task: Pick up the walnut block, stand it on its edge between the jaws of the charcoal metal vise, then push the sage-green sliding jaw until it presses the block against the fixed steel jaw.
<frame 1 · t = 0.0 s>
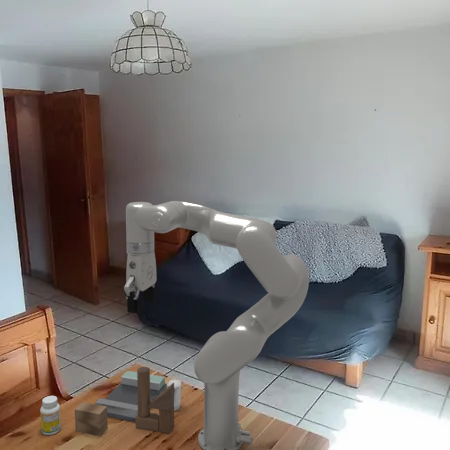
hand: (141, 306, 129), 37 cm above the table, tool pointing down, fingers open, 9 cm apart
sliding jaw: (143, 380, 156), point 3 cm above the table, slide at 0.0 cm
walnut block: (91, 430, 133), on the table
milkshake: (175, 408, 145), on the table
vise base: (123, 410, 143), on the table
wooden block: (155, 428, 135), on the table
supplement bottle: (51, 430, 133), on the table
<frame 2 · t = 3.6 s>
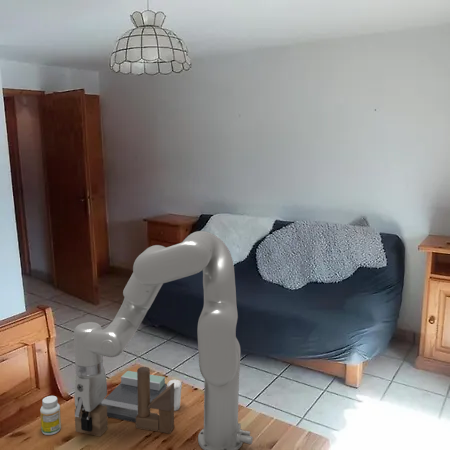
hand: (91, 424, 133), 2 cm above the table, tool pointing down, fingers closed on walnut block, 4 cm apart
walnut block: (91, 429, 133), on the table, touching gripper
everything else where it was.
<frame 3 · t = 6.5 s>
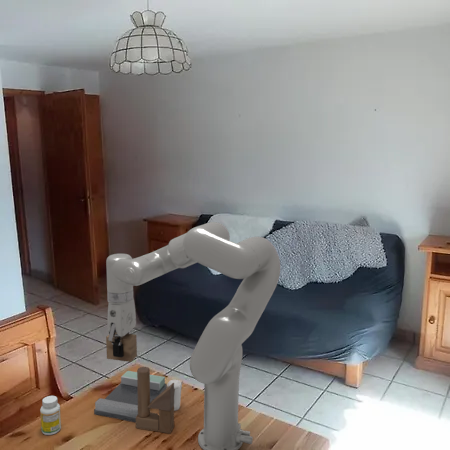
hand: (122, 352, 140), 19 cm above the table, tool pointing down, fingers closed on walnut block, 4 cm apart
walnut block: (122, 357, 140), point 17 cm above the table, touching gripper
everything else where it was.
when the fingers open (5 cm above the table, at t = 9.7 s): walnut block drops 2 cm, resting on vise base.
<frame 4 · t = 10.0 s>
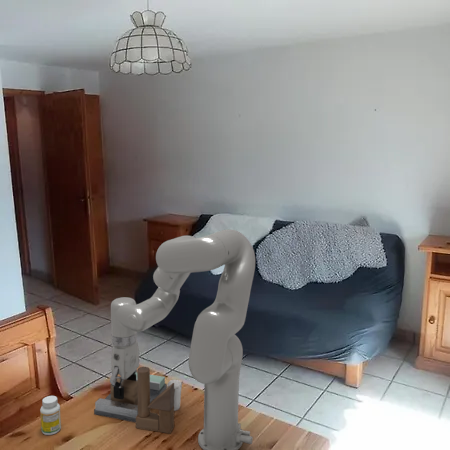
hand: (125, 391, 144), 6 cm above the table, tool pointing down, fingers open, 7 cm apart
walnut block: (125, 403, 144), point 1 cm above the table, touching vise base
everything else where it was.
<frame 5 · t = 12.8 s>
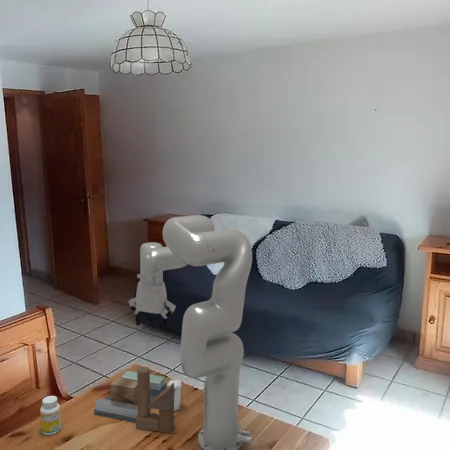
hand: (151, 326, 160), 19 cm above the table, tool pointing down, fingers open, 9 cm apart
nothing on the table moved.
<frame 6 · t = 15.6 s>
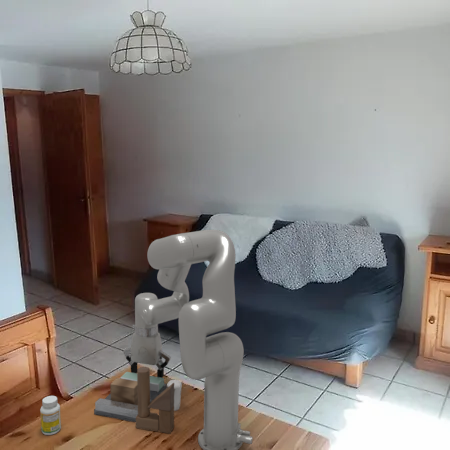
hand: (147, 376, 159), 3 cm above the table, tool pointing down, fingers open, 9 cm apart
sliding jaw: (142, 381, 155), point 3 cm above the table, slide at 0.7 cm, touching gripper
everything else where it was.
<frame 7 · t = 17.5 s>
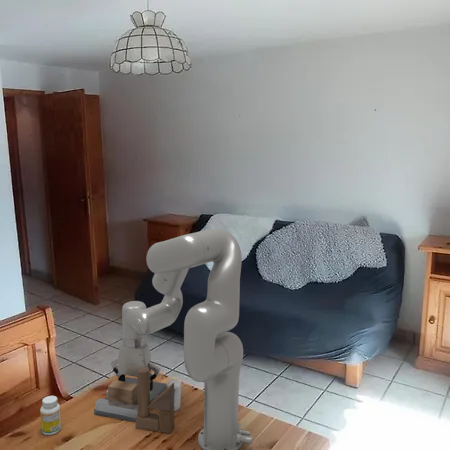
hand: (135, 389, 150), 3 cm above the table, tool pointing down, fingers open, 9 cm apart
sliding jaw: (129, 394, 147), point 3 cm above the table, slide at 9.5 cm, touching gripper, walnut block
walnut block: (123, 406, 143), point 2 cm above the table, touching sliding jaw, vise base
everything else where it was.
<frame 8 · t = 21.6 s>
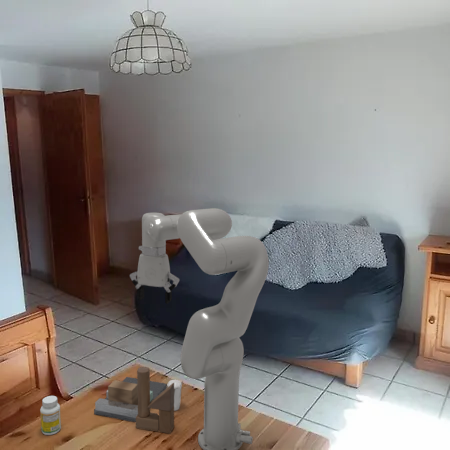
hand: (154, 300, 153), 30 cm above the table, tool pointing down, fingers open, 9 cm apart
sliding jaw: (129, 394, 147), point 3 cm above the table, slide at 9.5 cm
walnut block: (123, 406, 143), point 1 cm above the table, touching vise base
everything else where it was.
at the end: walnut block 0.2 cm from the target spot, point 1.5 cm above the table; walnut block tilted 0°; sliding jaw slide at 9.5 cm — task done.
